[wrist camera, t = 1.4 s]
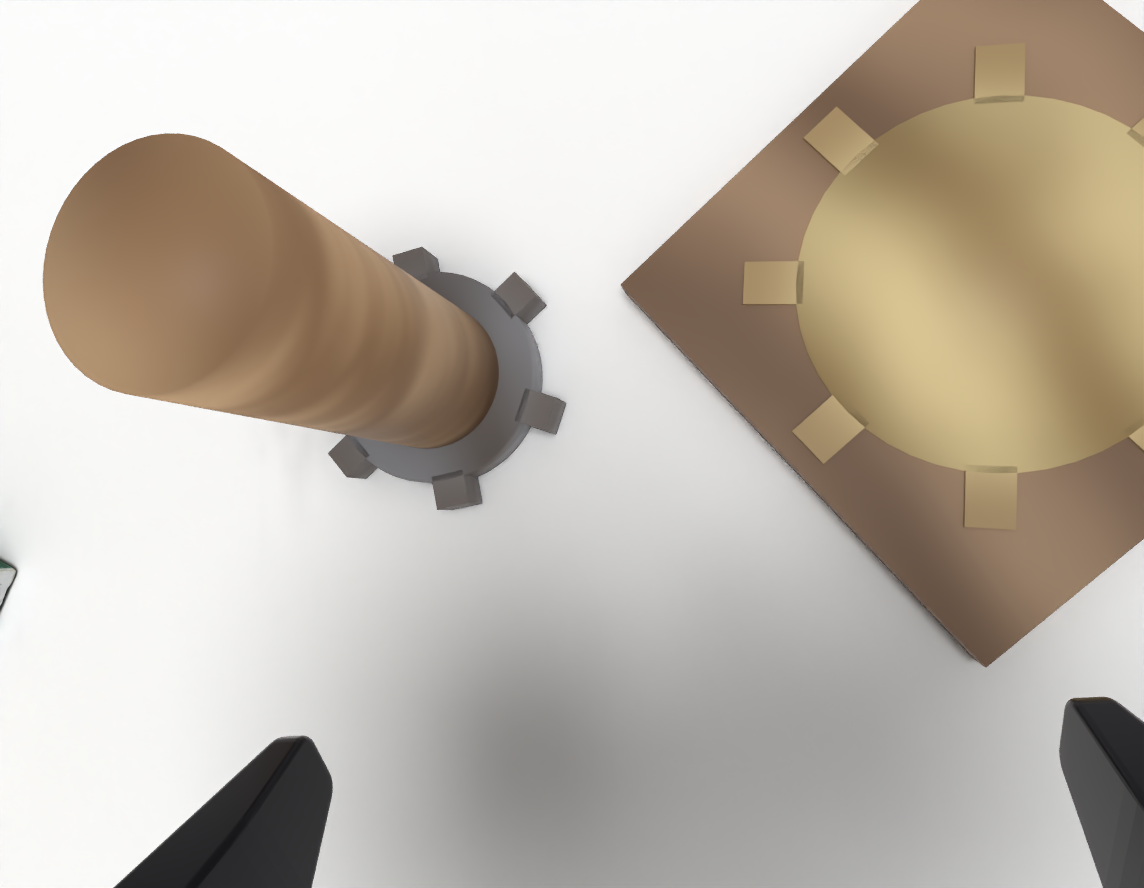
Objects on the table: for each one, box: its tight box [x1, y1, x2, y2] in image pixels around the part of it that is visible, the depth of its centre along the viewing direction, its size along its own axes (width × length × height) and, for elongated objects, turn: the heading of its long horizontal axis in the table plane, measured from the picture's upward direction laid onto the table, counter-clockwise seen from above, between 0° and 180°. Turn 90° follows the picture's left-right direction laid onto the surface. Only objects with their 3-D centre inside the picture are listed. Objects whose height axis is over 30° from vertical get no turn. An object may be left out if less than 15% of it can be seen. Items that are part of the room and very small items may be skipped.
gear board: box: [621, 0, 1144, 667], centre depth 21 cm, size 14×14×1 cm
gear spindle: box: [43, 134, 566, 510], centre depth 19 cm, size 8×7×12 cm
